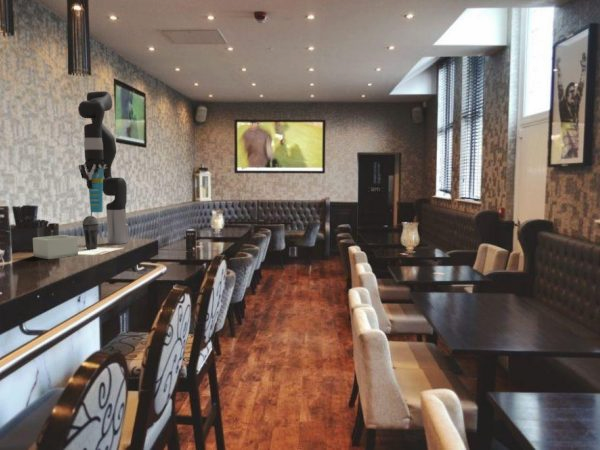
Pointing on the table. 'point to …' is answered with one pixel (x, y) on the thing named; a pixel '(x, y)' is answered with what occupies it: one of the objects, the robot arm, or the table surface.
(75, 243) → the bin
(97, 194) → the tube
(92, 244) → the beverage cup
